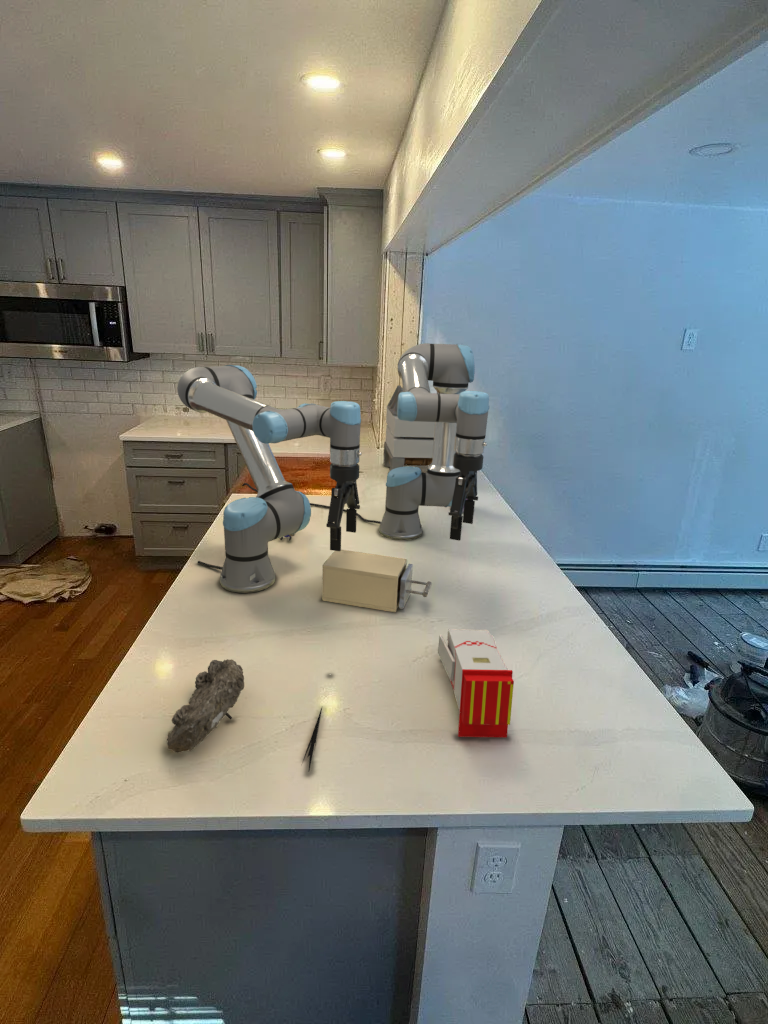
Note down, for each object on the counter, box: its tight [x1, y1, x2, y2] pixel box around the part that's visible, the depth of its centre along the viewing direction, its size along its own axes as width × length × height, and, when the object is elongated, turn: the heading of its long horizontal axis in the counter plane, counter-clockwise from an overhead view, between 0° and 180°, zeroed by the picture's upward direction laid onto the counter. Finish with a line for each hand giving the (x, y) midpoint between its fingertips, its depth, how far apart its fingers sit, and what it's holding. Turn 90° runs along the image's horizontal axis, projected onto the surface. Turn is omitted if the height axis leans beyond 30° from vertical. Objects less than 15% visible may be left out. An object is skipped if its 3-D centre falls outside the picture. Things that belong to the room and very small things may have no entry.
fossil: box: [166, 658, 245, 754], centre depth 106 cm, size 22×10×15 cm
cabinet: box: [321, 549, 408, 613], centre depth 154 cm, size 20×11×10 cm, turn 76°
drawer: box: [397, 563, 433, 610], centre depth 153 cm, size 25×10×8 cm, turn 76°
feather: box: [301, 673, 332, 771], centre depth 108 cm, size 2×28×2 cm
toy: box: [437, 628, 515, 738], centre depth 117 cm, size 12×13×30 cm
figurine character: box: [279, 533, 296, 542], centre depth 193 cm, size 7×8×15 cm
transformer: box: [383, 384, 435, 472], centre depth 268 cm, size 34×33×41 cm
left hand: (343, 540), depth 151 cm, fingers open, 13 cm apart
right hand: (461, 530), depth 152 cm, fingers open, 13 cm apart
